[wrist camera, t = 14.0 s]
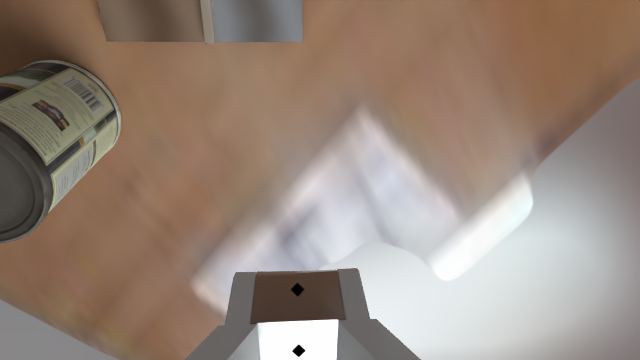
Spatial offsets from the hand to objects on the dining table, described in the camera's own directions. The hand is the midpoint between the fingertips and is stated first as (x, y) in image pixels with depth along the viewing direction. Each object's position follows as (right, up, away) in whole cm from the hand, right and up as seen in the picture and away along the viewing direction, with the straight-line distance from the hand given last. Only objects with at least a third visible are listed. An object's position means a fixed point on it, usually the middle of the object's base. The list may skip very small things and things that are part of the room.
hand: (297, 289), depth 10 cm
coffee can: (-24, +9, +29) cm, 39 cm away
